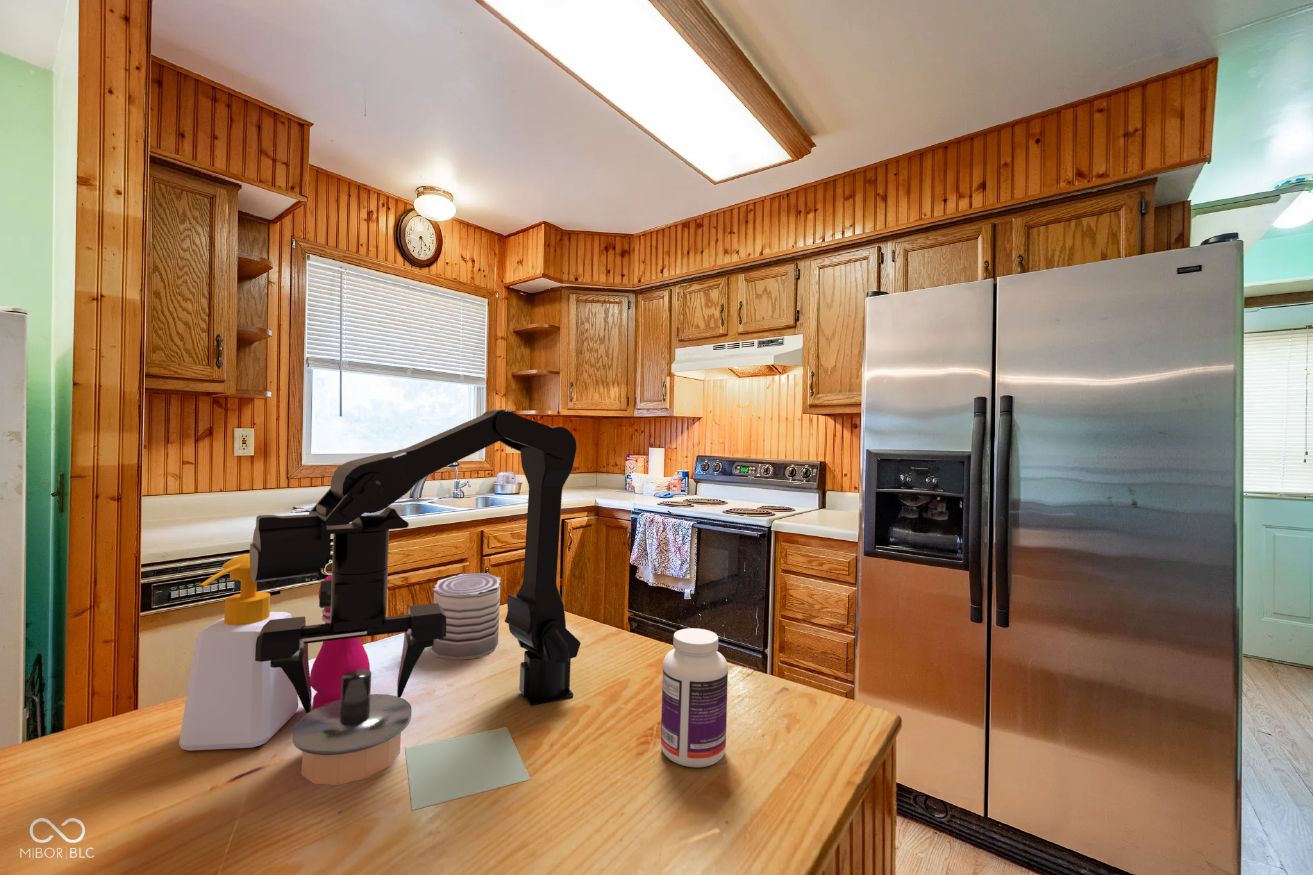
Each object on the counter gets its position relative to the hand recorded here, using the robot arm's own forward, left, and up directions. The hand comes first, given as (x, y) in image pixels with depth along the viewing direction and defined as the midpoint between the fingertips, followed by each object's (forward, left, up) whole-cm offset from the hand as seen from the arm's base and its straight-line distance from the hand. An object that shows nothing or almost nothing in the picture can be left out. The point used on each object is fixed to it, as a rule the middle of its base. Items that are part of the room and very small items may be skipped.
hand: (355, 703), depth 63 cm
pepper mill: (+2, -15, -7) cm, 17 cm away
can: (-17, -30, -7) cm, 35 cm away
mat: (-11, +7, -6) cm, 15 cm away
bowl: (0, 0, -6) cm, 6 cm away
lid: (0, 0, -2) cm, 3 cm away
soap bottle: (+13, -10, -7) cm, 18 cm away
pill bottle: (-37, +15, -7) cm, 40 cm away
